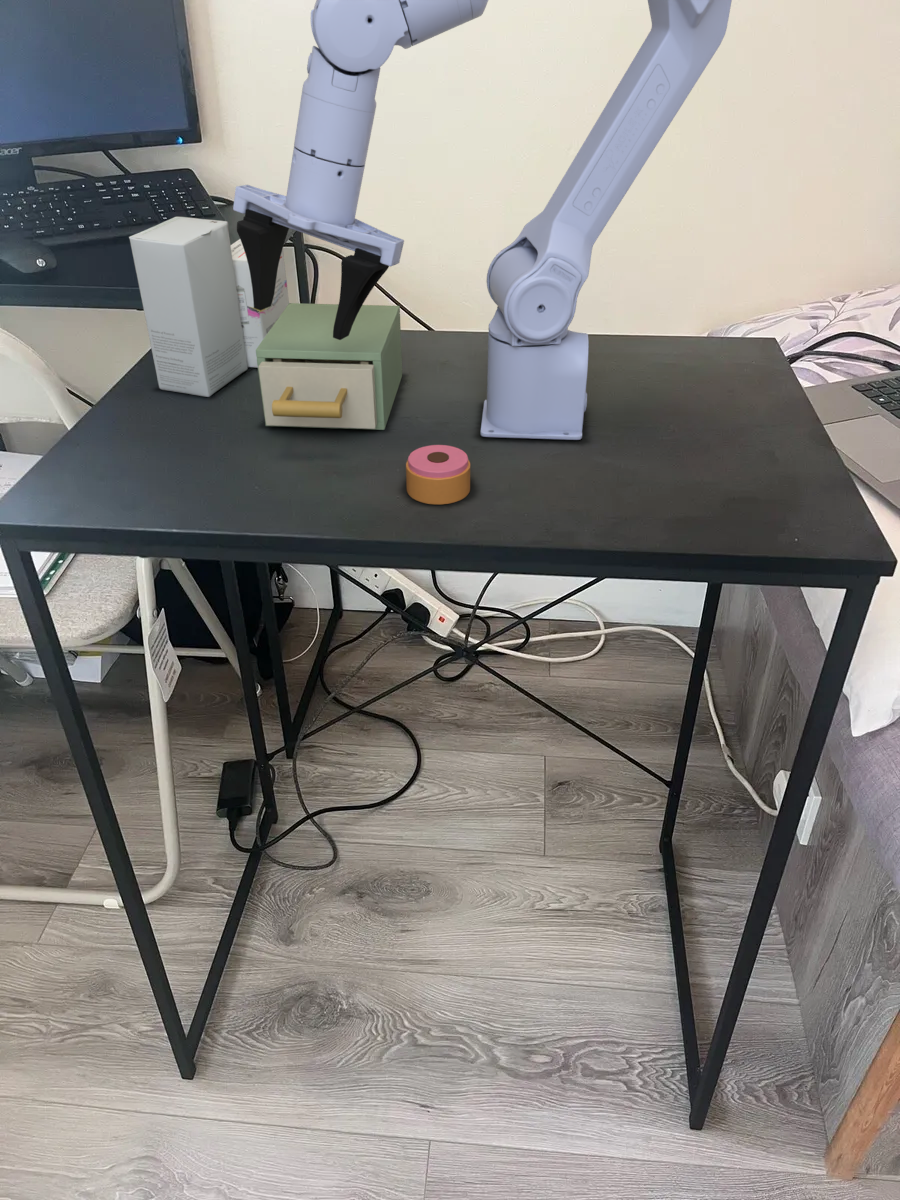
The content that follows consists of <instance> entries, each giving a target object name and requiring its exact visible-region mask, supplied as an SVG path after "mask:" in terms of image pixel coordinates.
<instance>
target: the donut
mask: <svg viewBox="0 0 900 1200" xmlns="http://www.w3.org/2000/svg"><path fill="white" fill-rule="evenodd" d="M405 479H406V480H405V481H406V492H407V494H408V495H409V497H410V498H411V499H412V500H415V501H417V502H420V503H423V504H428V505H435V506H437V505H448V504H453V503H457V502H459V501H462V500H463V499H465V498H467V496H468V495H469V493H470V492H471V461H470V460H469V457H468V454H467V453H466V452H465V451H464V450H462V449H461V448H458V447H456V446H452V445H447V444H431V445H425V446H422V447H418V448H415V450H413V451H411V452H410V454H409V455H408V458H407V460H406V462H405Z"/></svg>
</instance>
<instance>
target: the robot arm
mask: <svg viewBox="0 0 900 1200" xmlns="http://www.w3.org/2000/svg"><path fill="white" fill-rule="evenodd" d="M732 1H733V0H647V4H648V9H649V10H648V11H649V16H650V21H651V28H650V31H649V32H648V33H647V36H646V37H645V39H644V40H643V42H642V44H641V46H640V48H639V49H638V51H637V53H636V55H635V56H634V57H633V60H632V61H631V62H630V64H629V66H628V68H627V69H626V71H625V73H624V74H623V76H622V78H621V79H620V81H619V83H618V84H617V86H616V87H615V89H614V91H613V93H612V94H611V96H610V98H609V100H608V101H607V102H606V104H605V106H604V108H603V110H602V111H601V113H600V115H599V116H598V118H597V119H596V122H595V123H594V125H593V126H592V128H591V130H590V131H589V133H588V135H587V137H586V138H585V140H584V141H583V143H582V145H581V147H580V148H579V150H578V152H577V153H576V155H575V156H574V158H573V160H572V162H571V163H570V165H569V166H568V168H567V170H566V172H565V174H564V175H563V177H562V179H561V180H560V181H559V184H558V185H557V186H556V188H555V190H554V192H553V193H552V195H551V197H550V198H549V200H548V202H547V203H546V205H545V207H544V209H542V211H541V212H540V213H538V214H537V215H536V216H535V217H533V218H532V219H531V220H529V221H528V222H527V223H526V224H525V225H524V226H523V228H522V229H521V231H520V233H519V235H518V236H517V237H516V239H515V240H513V242H511V243H510V244H509V245H507V246H505V247H504V248H503V249H501V250H499V252H498V253H496V255H495V256H494V257H493V259H492V260H491V262H490V264H489V266H488V269H487V273H486V288H487V292H488V294H489V296H490V299H491V300H492V301H493V302H494V303H495V305H496V310H495V313H494V315H493V317H492V318H491V319H490V322H489V323H488V328H487V329H488V334H487V337H488V338H487V339H488V340H487V378H486V379H487V380H486V381H487V382H486V399H485V400H484V401H483V409H482V415H481V425H480V432H479V433H480V436H481V437H483V438H502V439H505V438H506V439H531V440H532V439H533V440H534V439H535V440H561V441H562V440H563V441H564V440H565V441H579V440H581V439H583V425H584V414H585V412H587V406H588V405H587V404H588V393H587V381H588V369H589V368H588V367H589V349H590V347H589V334H588V333H587V332H579V331H573V330H569V326H570V325H571V324H572V322H573V319H574V317H575V314H576V310H577V303H578V297H579V295H580V291H581V289H582V288H583V285H584V284H585V282H587V279H588V277H589V274H590V269H591V268H590V267H591V261H592V252H593V247H594V245H595V243H596V241H597V240H598V238H599V237H600V235H601V234H602V232H603V231H604V229H605V227H606V226H607V225H608V223H609V221H610V220H611V218H612V217H613V215H614V213H615V212H616V210H617V208H618V207H619V205H620V204H621V202H622V201H623V199H624V197H625V195H626V194H627V193H628V191H629V189H631V186H632V185H633V183H634V182H635V180H636V179H637V177H638V175H639V174H640V172H641V171H642V169H643V168H644V166H645V164H646V163H647V161H648V159H649V158H650V157H651V155H652V153H653V151H655V148H656V147H657V146H658V144H659V142H660V141H661V139H662V138H663V136H664V134H665V133H666V132H667V130H668V128H669V126H670V125H671V124H672V121H674V118H675V117H676V116H677V114H678V113H679V111H680V109H681V107H682V106H683V104H684V103H685V101H686V99H688V97H689V95H690V93H691V92H692V90H693V89H694V87H695V86H696V84H697V82H698V80H699V79H700V78H701V76H702V74H703V73H704V71H705V70H706V69H707V67H708V65H709V63H710V62H711V60H712V59H713V57H714V55H715V54H716V52H717V51H718V49H719V48H720V46H721V45H722V42H723V39H724V38H725V37H726V32H727V29H728V25H729V18H730V13H731V7H732ZM488 2H489V0H315V4H314V6H313V9H311V11H310V28H311V33H312V36H313V39H314V41H315V44H316V45H313V46H312V47H311V52H310V53H309V55H308V57H307V64H306V72H307V77H306V79H305V81H303V84H302V90H301V96H300V102H299V108H298V117H297V123H296V127H295V135H294V143H293V150H292V157H291V163H290V169H289V176H288V183H287V190H286V195H284V194H282V193H281V194H280V193H277V192H273V191H269V190H266V189H262V188H259V187H255V186H253V185H250V184H243V185H236V186H235V191H234V192H235V193H234V197H233V198H234V199H233V208H232V210H233V211H234V212H237V213H240V214H244V216H243V218H242V219H241V220H238V221H237V222H236V233H237V235H238V237H239V239H240V240H241V242H242V245H243V248H244V251H245V254H246V257H247V261H248V265H249V270H250V276H251V282H252V290H253V302H254V308H255V309H258V310H263V309H265V308H268V307H270V306H271V305H272V301H273V297H274V292H275V285H276V277H277V270H278V265H279V260H280V256H281V253H282V249H283V250H284V245H285V242H286V239H287V235H288V233H289V230H290V229H291V230H294V231H296V232H299V233H302V234H305V235H308V236H310V237H313V238H316V239H319V240H320V241H321V240H322V241H325V242H327V243H330V244H333V245H335V246H339V247H341V248H344V249H347V250H348V251H349V250H350V251H352V252H354V253H353V254H350V255H347V256H344V257H342V258H341V264H340V265H341V267H340V268H341V269H340V270H341V272H340V273H341V274H340V276H341V277H340V291H339V300H338V304H339V305H338V310H337V314H336V319H335V323H334V329H333V338H335V339H338V340H342V339H343V338H345V337H347V336H349V334H350V331H351V328H352V325H353V323H354V321H355V319H356V316H357V314H358V312H359V310H360V308H361V307H362V305H364V303H365V301H366V300H367V298H368V297H369V294H371V292H372V290H373V289H374V287H375V286H376V285H377V284H378V282H379V281H380V279H381V278H382V277H383V276H384V275H385V273H386V272H387V271H388V269H389V267H390V268H391V267H394V266H396V265H399V264H400V261H401V257H402V253H403V247H404V244H405V240H404V239H402V238H400V237H397V236H394V235H392V234H390V233H388V232H386V231H383V230H381V229H378V228H377V227H374V226H372V225H370V224H368V223H366V222H364V221H362V220H360V219H357V218H356V214H357V210H358V205H359V198H360V194H361V189H362V183H363V178H364V173H365V167H366V162H367V156H368V151H369V146H370V140H371V136H372V130H373V125H374V120H375V115H376V110H377V101H376V95H377V90H378V84H379V78H380V74H381V73H380V72H381V67H382V66H383V65H384V64H385V63H386V62H387V60H388V59H389V58H390V56H391V55H392V52H393V50H394V47H395V46H399V47H402V49H404V50H408V49H410V48H412V47H414V46H417V45H419V44H421V43H423V42H426V41H427V40H431V39H432V38H434V37H437V36H439V35H442V34H444V33H446V32H448V31H451V30H452V29H454V28H457V27H459V26H462V25H464V24H466V23H468V22H470V21H473V20H475V19H477V18H479V17H481V16H482V15H483V14H484V12H485V11H486V8H487V5H488Z"/></svg>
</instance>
